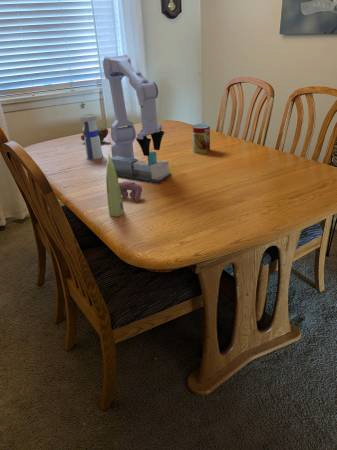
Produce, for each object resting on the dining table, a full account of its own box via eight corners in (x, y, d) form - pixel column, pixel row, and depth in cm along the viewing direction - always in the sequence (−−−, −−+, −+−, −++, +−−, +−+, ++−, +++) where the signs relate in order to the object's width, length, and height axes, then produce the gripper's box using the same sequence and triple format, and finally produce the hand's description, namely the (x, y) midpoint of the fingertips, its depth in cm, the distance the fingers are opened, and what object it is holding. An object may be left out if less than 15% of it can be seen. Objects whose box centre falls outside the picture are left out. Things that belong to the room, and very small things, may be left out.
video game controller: (142, 202, 135) (144, 183, 134) (137, 202, 130) (139, 181, 130) (117, 200, 138) (119, 181, 137) (111, 199, 133) (113, 180, 133)
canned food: (210, 153, 175) (210, 127, 169) (193, 154, 175) (193, 128, 169) (209, 148, 182) (209, 123, 176) (192, 149, 182) (192, 124, 176)
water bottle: (81, 159, 177) (72, 104, 165) (91, 153, 184) (83, 100, 172) (96, 160, 174) (88, 104, 163) (106, 154, 181) (99, 101, 169)
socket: (151, 178, 148) (150, 165, 145) (160, 173, 153) (159, 160, 150) (160, 180, 146) (159, 166, 143) (169, 174, 151) (168, 161, 148)
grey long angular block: (107, 175, 157) (105, 160, 154) (121, 167, 164) (119, 153, 161) (158, 184, 145) (157, 168, 142) (171, 175, 152) (170, 160, 149)
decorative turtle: (109, 144, 196) (106, 129, 192) (80, 148, 197) (77, 133, 193) (111, 138, 204) (108, 124, 200) (84, 141, 206) (81, 127, 201)
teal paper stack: (127, 168, 154) (125, 150, 151) (131, 166, 156) (129, 148, 153) (160, 173, 147) (158, 155, 143) (163, 171, 149) (162, 153, 145)
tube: (104, 214, 125) (96, 157, 115) (116, 208, 128) (108, 152, 119) (116, 218, 121) (108, 160, 112) (127, 212, 125) (121, 155, 115)
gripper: (147, 122, 133) (150, 159, 139) (168, 113, 143) (170, 148, 150) (131, 121, 136) (134, 157, 142) (152, 112, 147) (155, 146, 153)
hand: (151, 152), depth 146 cm, fingers open, 7 cm apart
